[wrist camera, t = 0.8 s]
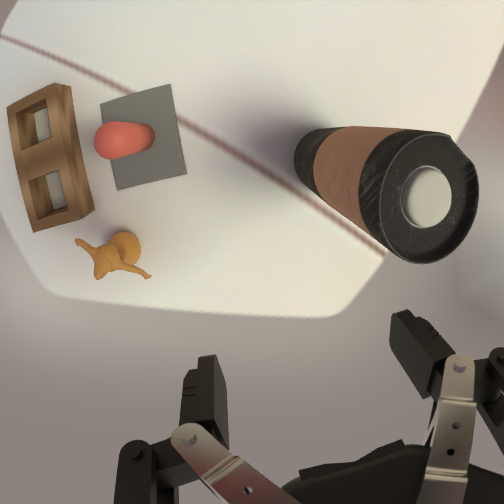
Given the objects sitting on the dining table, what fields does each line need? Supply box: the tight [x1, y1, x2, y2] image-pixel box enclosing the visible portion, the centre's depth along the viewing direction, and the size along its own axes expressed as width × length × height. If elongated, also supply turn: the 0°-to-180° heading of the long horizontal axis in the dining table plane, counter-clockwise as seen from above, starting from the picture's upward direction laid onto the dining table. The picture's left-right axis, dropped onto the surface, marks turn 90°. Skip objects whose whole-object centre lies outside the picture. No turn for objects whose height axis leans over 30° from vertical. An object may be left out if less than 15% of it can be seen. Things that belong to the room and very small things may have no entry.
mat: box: [100, 84, 187, 190], centre depth 30 cm, size 10×8×1 cm
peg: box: [94, 121, 155, 159], centre depth 25 cm, size 3×3×10 cm
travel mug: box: [294, 126, 479, 264], centre depth 24 cm, size 8×8×20 cm
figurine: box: [75, 232, 152, 280], centre depth 29 cm, size 8×6×12 cm
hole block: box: [7, 83, 95, 233], centre depth 28 cm, size 15×7×4 cm, turn 9°
